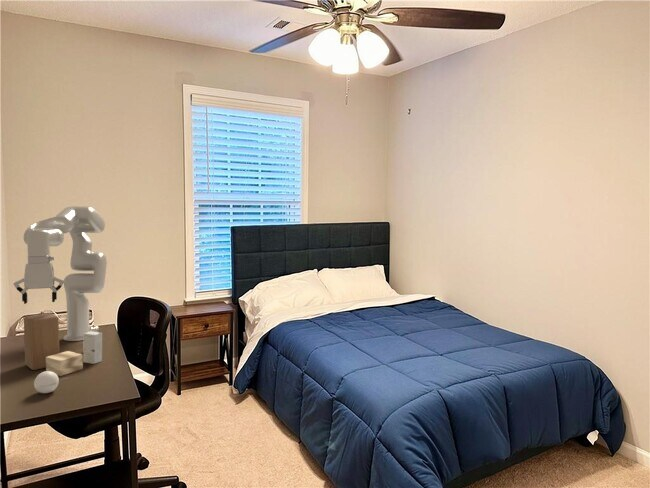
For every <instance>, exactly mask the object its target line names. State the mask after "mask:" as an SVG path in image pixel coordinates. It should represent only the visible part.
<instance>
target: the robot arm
mask: <svg viewBox="0 0 650 488" xmlns="http://www.w3.org/2000/svg"><path fill="white" fill-rule="evenodd" d="M105 227H106V222H105V220H104V218H103V216H102V215H101V214H100V213H99V212H98V211H97V210H96V209H94V208H93V207H91V206H78V205H77V206H74V205H73V206H71V205H70V206H67V207H65V208H63V209H62V210H61V211H60V212H59V213H58V214H57V215H55V216H52V217H49V218H47V219H43V220H39V221H36V222H34V223H33V224H31V225H30V226H28V227H27V229H25V231H24V233H23V242H24V243H25V244H26V245H27V263H26V264H25V266H24V268H25V269H24V275H23V278H22V279H19V280H17V281H15V282H14V283H13V286H14V287H15V289H16V290H17V291H18V292H19V293H20V294H21V300H22V301H21V302H23V305H25V304H27V303H28V293H27V292H28V290H35V289H36V290H37V289H50V290H51V291H52V292H51V301H52V303H55V302H56V300H57V299H58V293H57V292H58V291H60V289H61V288H62V287H63V288H64V291H65V298H66V331H67V332H66V333H67V334H65V335H64V336H63V340H64V341H66V342H67V341H68V342H79V341H84V333H87V332H90V331H93V332H98V331H99V326H90V302H89V299H88V297H87V295H85V294H99V293H101V292H102V291H103V290H104V288H105V282H106V281H105V279H106V273H107V261H108V260H107V256H106V255H105V254H104V253H103V252H100V251H93V250H92V249H93V241H92V240H91V238H90V237H89V236H88V235H87V234H98V233H102V232H103V231H104V230H105ZM67 233H69V235H70V237H71V240H72V248H71V249H72V250H71V255H70V256H71V257H70V268H71V270H73V271H76V272H78V273H74V272H73V273H69V274H68V275H66V276H65V277H64V278H63V279H61V278H58V277H55V271H54V265H53V263H52V261H55V258H54V256H51V255H50V254H51V253H50V252H51V251H50V249H51V248H50V247H59V246H60V245H62V244H63V242H64V241H65V235H64V234H67ZM79 272H81V273H79ZM82 272H83V273H82ZM84 272H85V273H84ZM86 272H87V273H86ZM90 272H92V273H90ZM55 282H57V283H58V285H57V286H55ZM20 284H23V286H24V288H22V287H21V286H20Z"/></svg>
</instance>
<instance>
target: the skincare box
mask: <svg viewBox="0 0 650 488" xmlns="http://www.w3.org/2000/svg"><path fill="white" fill-rule="evenodd" d="M83 341H84V349H83V348H82V354H83V363H87V364H91V365H94V364H97V363H98V364H99V363H100V362H102V361H103V332H99V331H90V332H87V333H84V340H83Z"/></svg>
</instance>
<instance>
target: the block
mask: <svg viewBox="0 0 650 488" xmlns="http://www.w3.org/2000/svg"><path fill="white" fill-rule="evenodd" d="M59 321H60V319H59V317H58V316H57V315H55V314H53V313H50V312H48V313H41V314H40V313H39V314H32V315H31V314H30V315H26V316H24V318H23V330H24V331H23V334H24V335H23V336H24V337H23V338H24V364H25V365H26V366H27V368H29V369H30V370H32V371H36V370H41V369H46V357H48V356H51V355H55V354H59V353H60V327H59V326H60V325H59Z"/></svg>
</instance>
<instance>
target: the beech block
mask: <svg viewBox="0 0 650 488" xmlns="http://www.w3.org/2000/svg"><path fill="white" fill-rule="evenodd" d="M83 365H84V362H83V353H78V352H74V351H72V350H65V351H63V352H59V354H55V355H51V356H48V357H46V368H45V371H51V372H54V373H56V374H57V376H58V377H59V376H60V377H61V376H65V375H68V374H71V373H75V372H78V371H80V370H83V369H84V366H83Z"/></svg>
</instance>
